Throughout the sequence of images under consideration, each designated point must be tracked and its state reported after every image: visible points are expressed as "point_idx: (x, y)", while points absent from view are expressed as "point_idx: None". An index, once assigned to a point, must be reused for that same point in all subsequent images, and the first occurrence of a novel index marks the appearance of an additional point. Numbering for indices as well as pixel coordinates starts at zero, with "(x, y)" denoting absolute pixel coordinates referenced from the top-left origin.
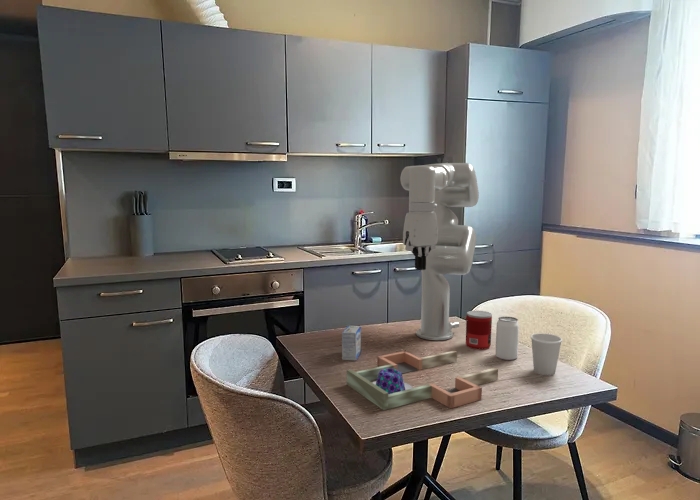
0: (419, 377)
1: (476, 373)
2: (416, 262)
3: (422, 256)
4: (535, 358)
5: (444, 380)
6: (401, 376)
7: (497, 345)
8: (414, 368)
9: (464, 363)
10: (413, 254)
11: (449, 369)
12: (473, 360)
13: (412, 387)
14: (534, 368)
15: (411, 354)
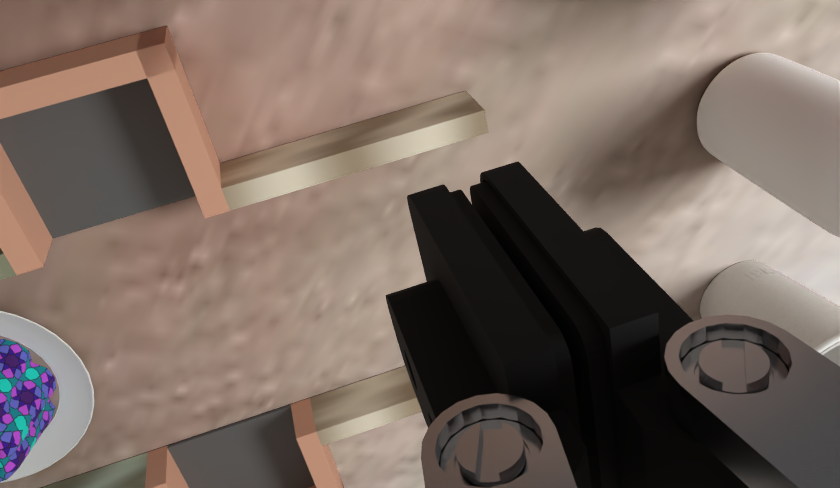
0: (173, 279)
1: (410, 408)
2: (418, 387)
3: (619, 481)
4: None
5: (284, 325)
6: (13, 473)
7: (734, 131)
8: (182, 175)
9: (492, 146)
10: (423, 472)
11: (373, 208)
12: (561, 115)
13: (93, 397)
14: (710, 301)
15: (187, 119)
